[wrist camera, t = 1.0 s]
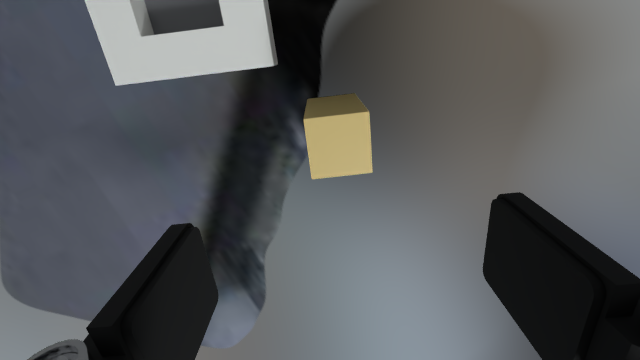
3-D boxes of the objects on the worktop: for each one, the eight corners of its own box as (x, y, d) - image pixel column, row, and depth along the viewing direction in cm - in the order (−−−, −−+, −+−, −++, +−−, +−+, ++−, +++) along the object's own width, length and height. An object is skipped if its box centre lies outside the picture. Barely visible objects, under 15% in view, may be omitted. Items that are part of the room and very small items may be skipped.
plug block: (354, 93, 26) (369, 111, 19) (357, 139, 28) (372, 172, 20) (307, 98, 26) (303, 119, 19) (313, 144, 28) (311, 179, 20)
